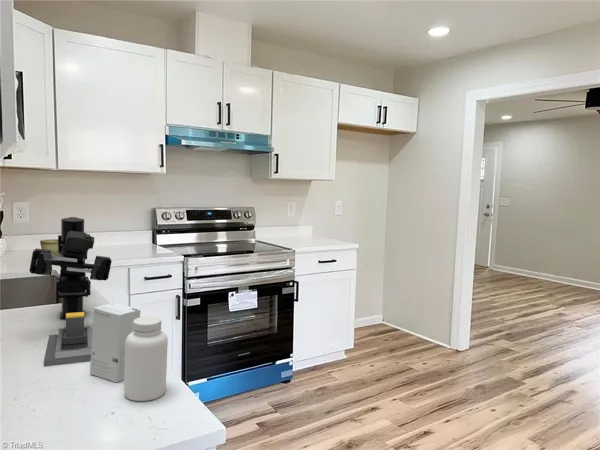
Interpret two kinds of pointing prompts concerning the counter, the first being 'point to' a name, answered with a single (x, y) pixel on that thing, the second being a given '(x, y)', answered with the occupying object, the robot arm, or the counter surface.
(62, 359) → the grey shallow rectangular piece
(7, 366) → the counter surface
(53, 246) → the ceramic cup
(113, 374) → the skincare box
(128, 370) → the pill bottle
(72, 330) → the breaker handle
